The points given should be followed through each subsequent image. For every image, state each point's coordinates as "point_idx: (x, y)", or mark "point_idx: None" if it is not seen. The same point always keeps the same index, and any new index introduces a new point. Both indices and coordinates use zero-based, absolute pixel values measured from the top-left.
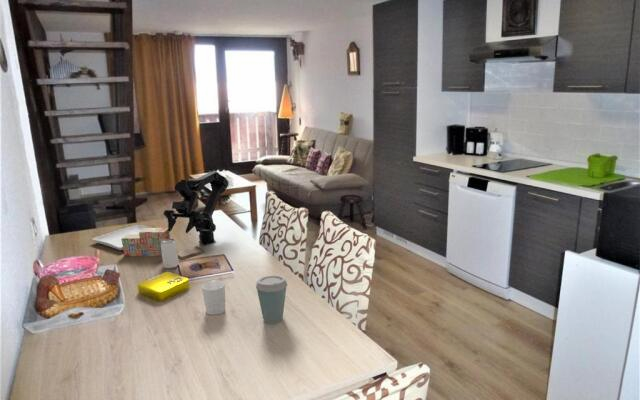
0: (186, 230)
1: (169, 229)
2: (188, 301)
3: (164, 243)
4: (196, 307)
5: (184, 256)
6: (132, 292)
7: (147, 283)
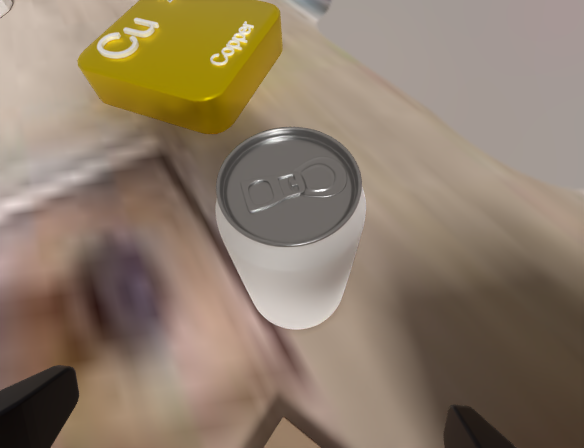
0: (31, 380)
1: (461, 430)
2: (79, 31)
3: (291, 131)
4: (46, 13)
5: (267, 443)
6: (309, 43)
7: (240, 13)
